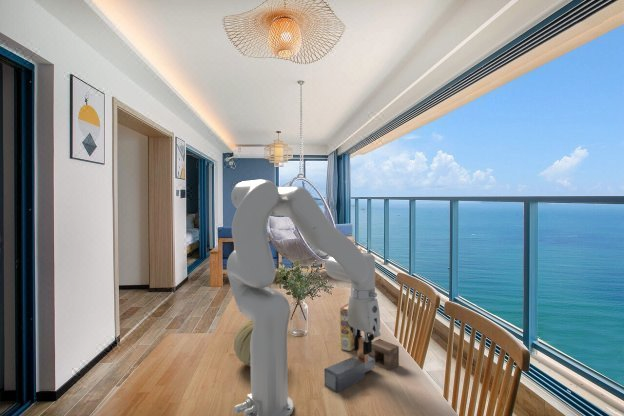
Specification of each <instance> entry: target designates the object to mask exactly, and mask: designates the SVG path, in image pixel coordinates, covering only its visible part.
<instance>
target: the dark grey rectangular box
mask: <svg viewBox="0 0 624 416" xmlns="http://www.w3.org/2000/svg"><path fill="white" fill-rule="evenodd" d="M323 371H324V387H326V388H328V389H330V390H331V391H333V392H335V393H338V392H341V391H343V390H344V389H346V388H349V387H351V386H353V385H354V384H357V383H359V382H361V381H363V380H365V379H366V377H365V375H366V374H365V362H363V361H360V360H358V358H356V357H354V356H351V357H350V358H347V359H344V360H342V361H340V362H337V363H335V364H333V365H331V366H328V367H325V368H324V370H323Z"/></svg>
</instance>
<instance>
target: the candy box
mask: <svg viewBox="0 0 624 416" xmlns="http://www.w3.org/2000/svg"><path fill="white" fill-rule="evenodd" d="M348 304H349V302H348V303H347V304H345V305H344V306H341V307H340V309H339V310H340V311H339V312H340V313H339V314H340V316H339V317H340V323H339V324H340V350H344V351H348V352H351V351H352V350H353V349H354V337H353V333H352V332H351V330H350V328H349V327H348V326H347V321H348Z"/></svg>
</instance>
